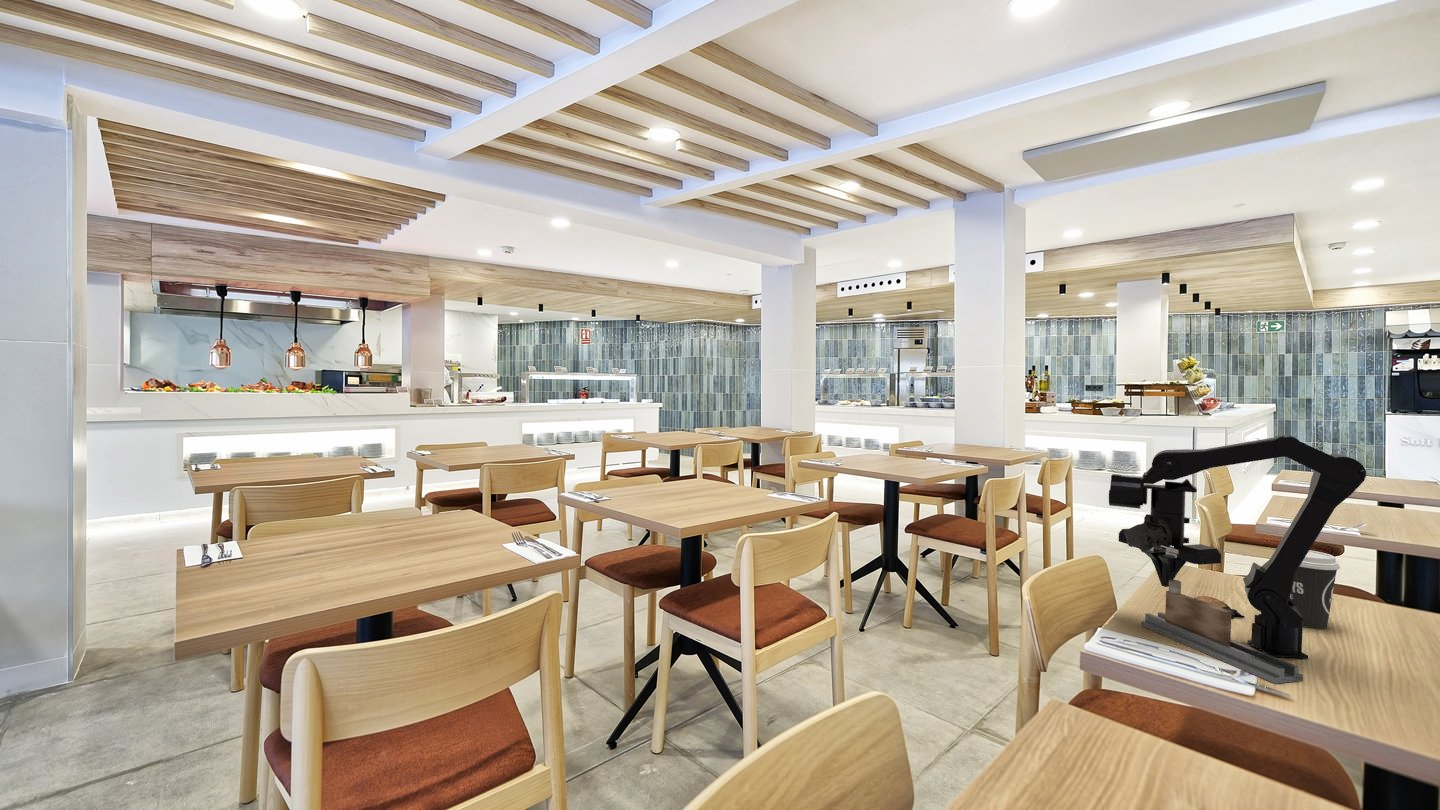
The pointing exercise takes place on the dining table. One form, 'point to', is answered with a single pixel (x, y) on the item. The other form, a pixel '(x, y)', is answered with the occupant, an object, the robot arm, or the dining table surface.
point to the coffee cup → (1314, 588)
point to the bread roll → (1220, 605)
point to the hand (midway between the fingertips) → (1165, 586)
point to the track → (1227, 651)
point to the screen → (1197, 614)
